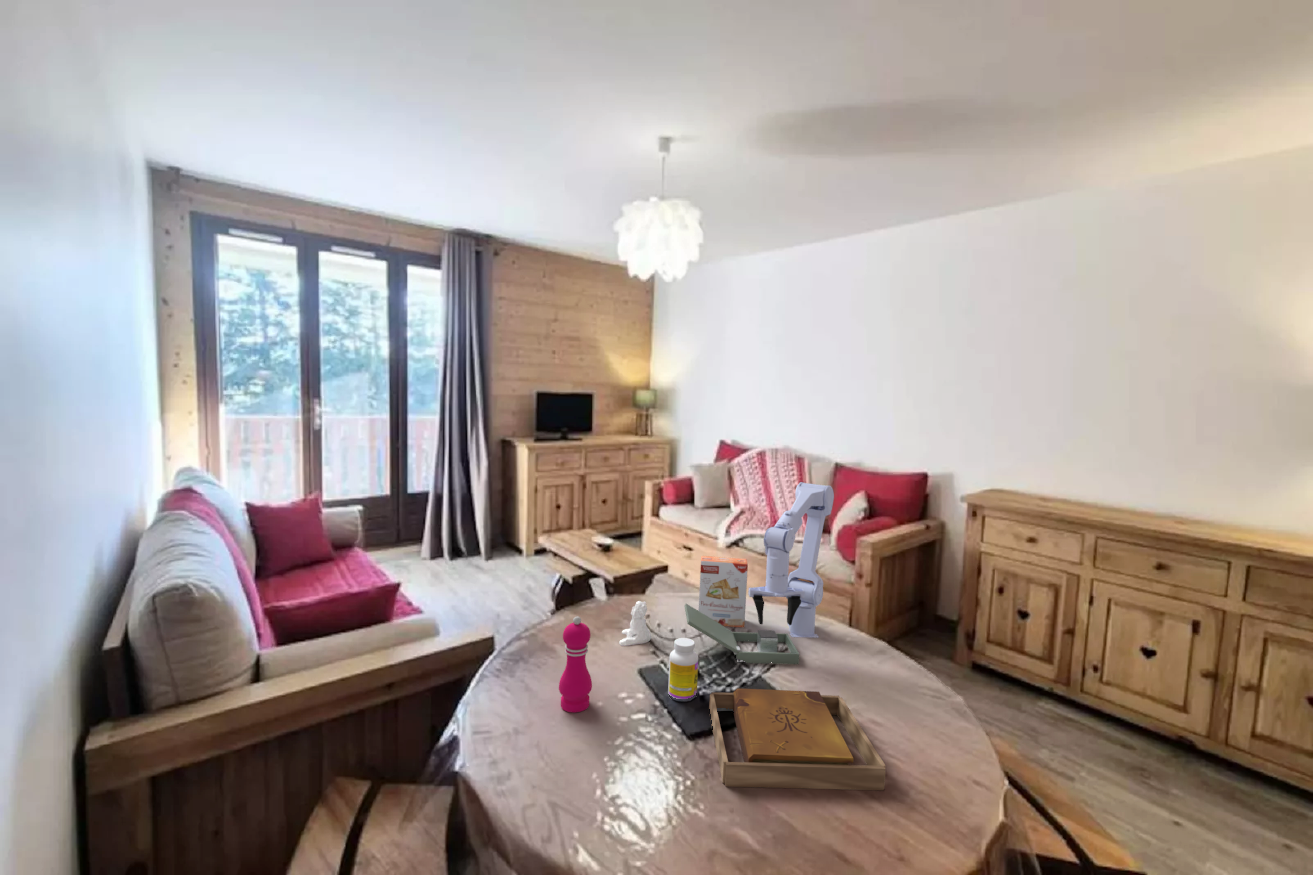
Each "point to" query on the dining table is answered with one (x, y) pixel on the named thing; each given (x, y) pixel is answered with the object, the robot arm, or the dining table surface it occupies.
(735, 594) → the cracker box
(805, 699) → the diary
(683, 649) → the supplement bottle
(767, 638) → the block
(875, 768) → the desk tray
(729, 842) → the dining table surface
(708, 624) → the case
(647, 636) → the white creature statuette
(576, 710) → the pepper mill
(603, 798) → the dining table surface
